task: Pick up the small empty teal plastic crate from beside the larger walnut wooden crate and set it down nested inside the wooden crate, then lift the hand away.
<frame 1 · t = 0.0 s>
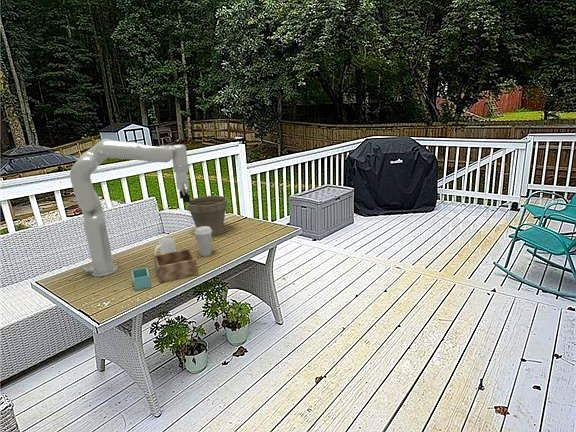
hand: (185, 200, 212), 31 cm above the table, tool pointing down, fingers open, 9 cm apart
small crate: (142, 284, 188), on the table
coffee cup: (205, 254, 220), on the table
mug: (166, 259, 216), on the table
plant pot: (210, 232, 254), on the table
big crate: (176, 272, 199), on the table
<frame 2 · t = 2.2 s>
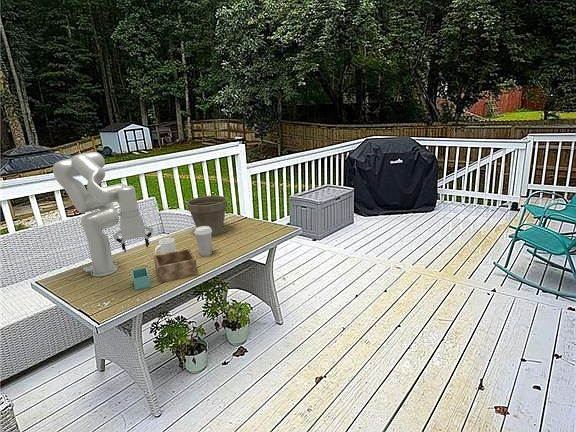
hand: (136, 248, 182), 18 cm above the table, tool pointing down, fingers open, 9 cm apart
nothing on the table moved.
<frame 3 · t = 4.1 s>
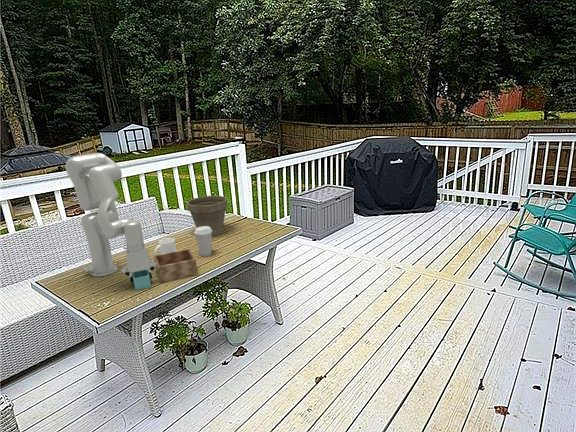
hand: (141, 281, 187), 1 cm above the table, tool pointing down, fingers closed on small crate, 7 cm apart
small crate: (142, 284, 188), on the table, touching gripper
everything else where it was.
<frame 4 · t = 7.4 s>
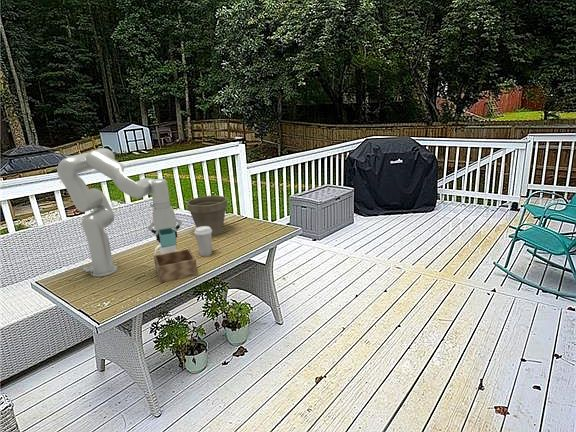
hand: (167, 240, 192), 18 cm above the table, tool pointing down, fingers closed on small crate, 7 cm apart
small crate: (167, 242, 192), point 17 cm above the table, touching gripper
everything else where it was.
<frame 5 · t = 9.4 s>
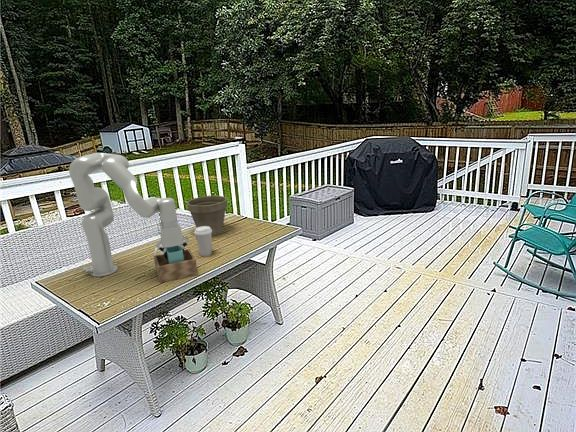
hand: (174, 257, 196), 8 cm above the table, tool pointing down, fingers closed on small crate, 7 cm apart
small crate: (175, 259, 197), point 7 cm above the table, touching gripper
everything else where it was.
when the fingers open (4 cm above the table, at t = 10.8 s): small crate drops 2 cm, resting on big crate.
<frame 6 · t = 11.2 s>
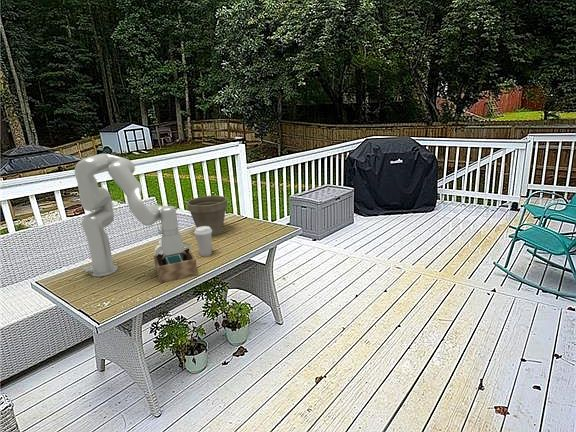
hand: (175, 263, 197), 5 cm above the table, tool pointing down, fingers open, 9 cm apart
small crate: (175, 270, 199), point 1 cm above the table, touching big crate
everything else where it was.
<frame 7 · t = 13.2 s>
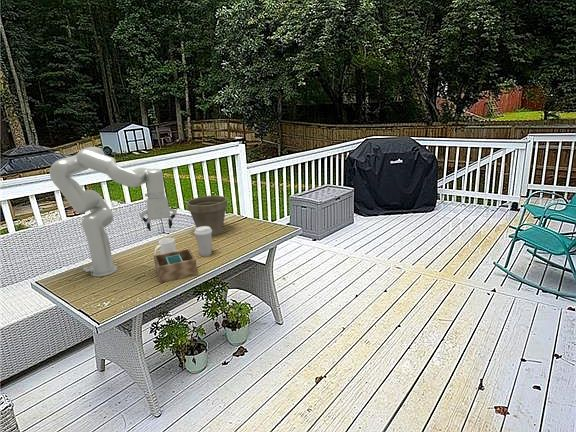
hand: (160, 228, 194), 23 cm above the table, tool pointing down, fingers open, 9 cm apart
nothing on the table moved.
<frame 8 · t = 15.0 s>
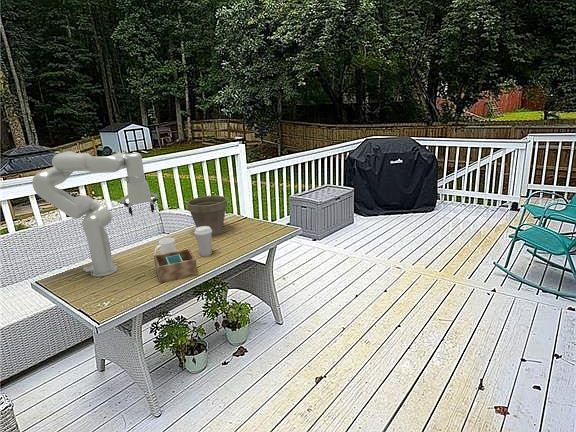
hand: (142, 213, 194), 30 cm above the table, tool pointing down, fingers open, 9 cm apart
nothing on the table moved.
at the end: small crate inside the target area on the big crate (0.2 cm from its centre), point 1.0 cm above the big crate's base; small crate tilted 0°; the gripper is holding nothing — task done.
